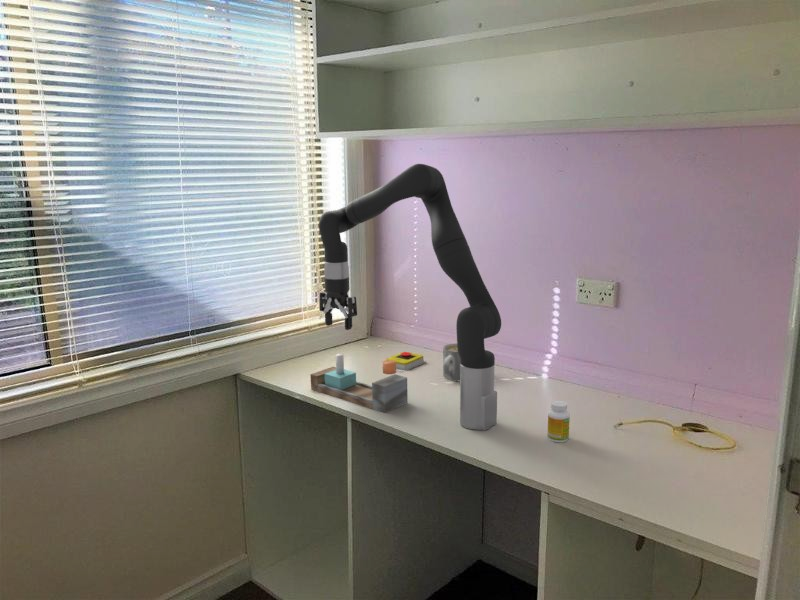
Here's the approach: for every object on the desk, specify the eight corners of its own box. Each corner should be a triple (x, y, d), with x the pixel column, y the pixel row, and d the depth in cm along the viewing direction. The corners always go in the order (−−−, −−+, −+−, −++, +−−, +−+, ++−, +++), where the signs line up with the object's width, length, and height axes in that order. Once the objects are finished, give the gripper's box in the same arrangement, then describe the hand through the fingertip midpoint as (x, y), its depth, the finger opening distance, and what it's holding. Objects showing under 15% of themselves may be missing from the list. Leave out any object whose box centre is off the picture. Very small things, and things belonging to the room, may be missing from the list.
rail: (407, 402, 198) (407, 377, 196) (385, 412, 190) (384, 386, 189) (333, 380, 218) (332, 357, 217) (311, 389, 211) (309, 365, 209)
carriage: (356, 384, 209) (355, 354, 207) (340, 390, 204) (339, 359, 202) (340, 380, 214) (339, 350, 212) (324, 385, 208) (323, 355, 206)
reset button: (399, 371, 194) (399, 362, 193) (390, 375, 191) (390, 365, 190) (389, 369, 196) (388, 359, 196) (380, 372, 193) (379, 362, 193)
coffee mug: (456, 369, 228) (456, 341, 226) (478, 375, 221) (479, 347, 219) (430, 378, 219) (429, 349, 217) (452, 385, 212) (452, 355, 210)
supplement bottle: (565, 444, 168) (566, 408, 166) (544, 440, 170) (545, 405, 168) (571, 436, 172) (572, 401, 170) (550, 432, 175) (552, 398, 173)
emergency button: (427, 351, 237) (401, 361, 225) (427, 362, 238) (402, 374, 226) (406, 347, 242) (380, 357, 231) (406, 358, 243) (381, 369, 232)
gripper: (362, 276, 200) (363, 328, 203) (329, 271, 209) (331, 321, 212) (344, 280, 194) (346, 333, 197) (311, 275, 203) (314, 326, 207)
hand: (338, 327), depth 205 cm, fingers open, 8 cm apart
